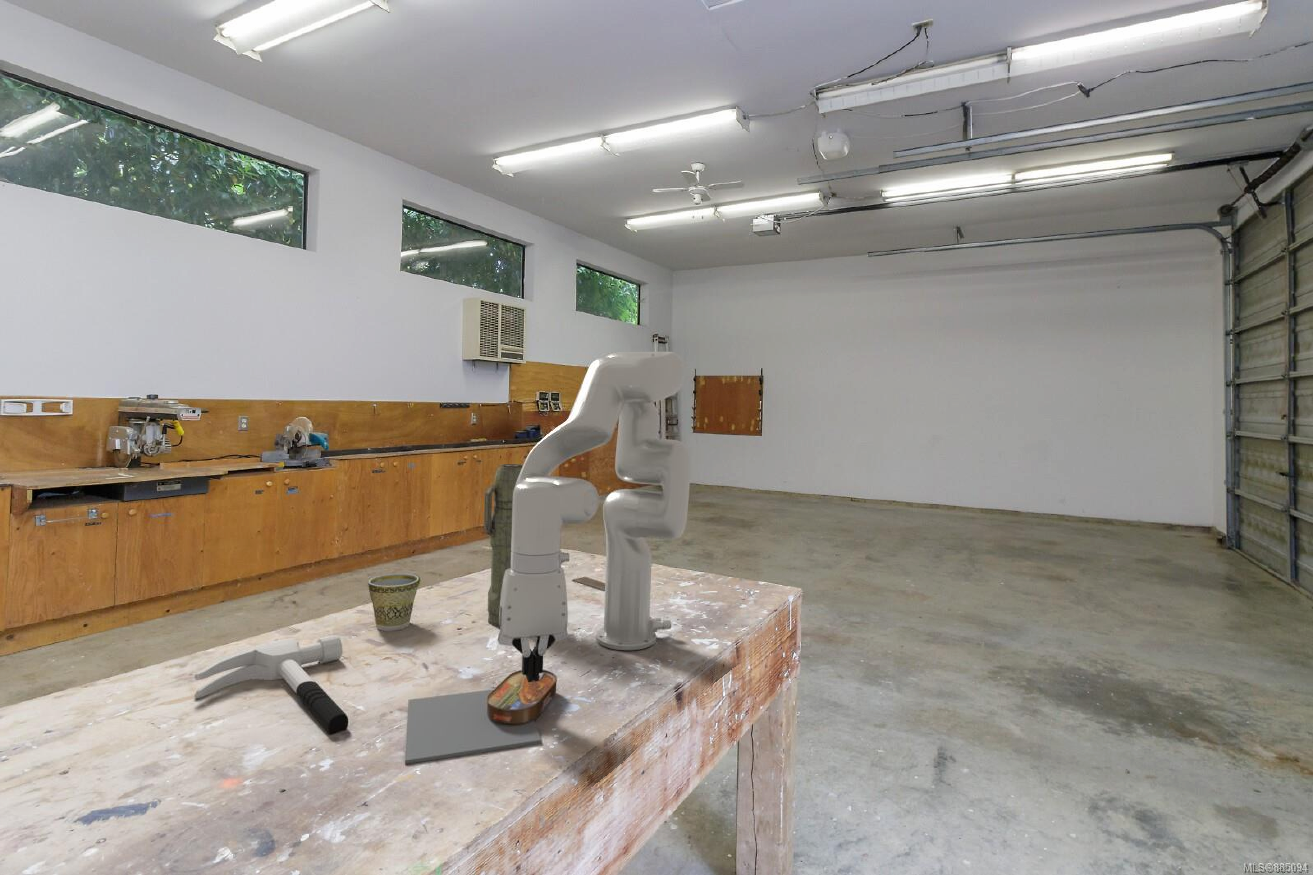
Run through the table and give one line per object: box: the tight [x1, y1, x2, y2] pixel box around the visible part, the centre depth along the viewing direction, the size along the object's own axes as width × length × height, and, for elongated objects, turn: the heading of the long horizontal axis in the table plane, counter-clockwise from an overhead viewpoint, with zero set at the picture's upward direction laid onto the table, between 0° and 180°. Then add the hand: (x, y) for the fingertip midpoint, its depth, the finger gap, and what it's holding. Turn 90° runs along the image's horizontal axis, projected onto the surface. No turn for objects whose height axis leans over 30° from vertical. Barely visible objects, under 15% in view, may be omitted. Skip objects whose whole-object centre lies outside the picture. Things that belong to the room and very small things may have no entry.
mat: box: [404, 689, 542, 765], centre depth 94 cm, size 18×18×1 cm
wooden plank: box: [571, 576, 605, 592], centre depth 169 cm, size 17×1×5 cm
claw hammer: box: [194, 634, 349, 736], centre depth 98 cm, size 6×22×30 cm
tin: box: [487, 669, 558, 724], centre depth 99 cm, size 15×3×8 cm
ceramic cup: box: [367, 573, 421, 632], centre depth 134 cm, size 13×10×10 cm
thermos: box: [483, 463, 524, 628], centre depth 138 cm, size 9×12×35 cm
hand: (532, 678), depth 96 cm, fingers closed
